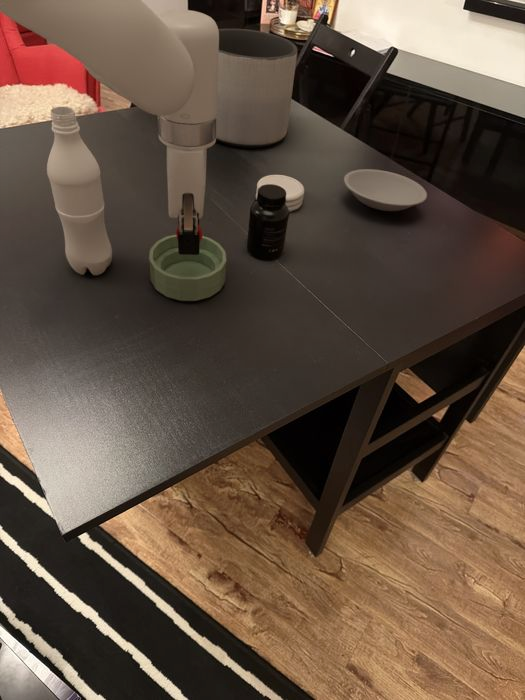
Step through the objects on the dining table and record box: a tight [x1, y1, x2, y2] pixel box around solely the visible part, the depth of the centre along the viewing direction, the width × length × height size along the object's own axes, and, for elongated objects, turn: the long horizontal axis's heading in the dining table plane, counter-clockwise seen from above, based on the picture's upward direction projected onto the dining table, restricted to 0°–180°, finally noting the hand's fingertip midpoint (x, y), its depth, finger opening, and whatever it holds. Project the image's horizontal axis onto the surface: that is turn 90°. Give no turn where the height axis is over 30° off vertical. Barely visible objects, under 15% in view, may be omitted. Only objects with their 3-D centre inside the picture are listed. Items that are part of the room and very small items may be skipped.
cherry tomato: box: [175, 220, 203, 242], centre depth 74 cm, size 4×4×4 cm
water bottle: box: [46, 106, 113, 276], centre depth 71 cm, size 7×7×25 cm
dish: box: [343, 168, 428, 212], centre depth 102 cm, size 18×14×5 cm
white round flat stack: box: [255, 174, 305, 213], centre depth 100 cm, size 10×10×4 cm
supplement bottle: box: [246, 184, 290, 261], centre depth 84 cm, size 7×7×12 cm
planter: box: [216, 28, 298, 149], centre depth 116 cm, size 23×23×20 cm
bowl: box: [148, 234, 227, 302], centre depth 79 cm, size 12×12×5 cm
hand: (188, 243), depth 75 cm, fingers closed on cherry tomato, 3 cm apart
